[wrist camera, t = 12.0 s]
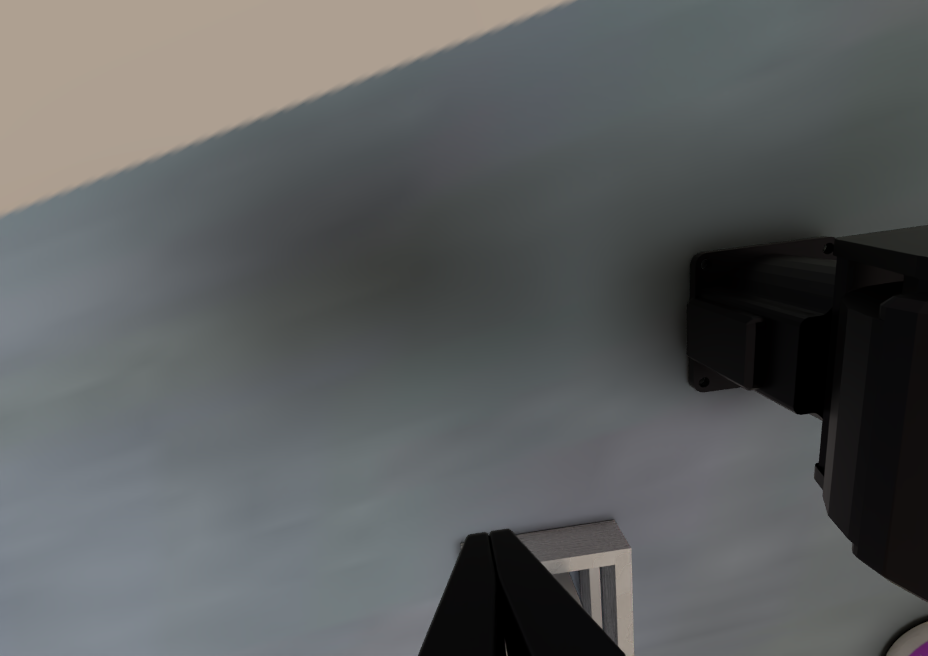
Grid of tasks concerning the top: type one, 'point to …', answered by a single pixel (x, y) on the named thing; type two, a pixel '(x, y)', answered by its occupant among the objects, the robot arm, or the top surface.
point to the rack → (593, 572)
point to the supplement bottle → (911, 642)
